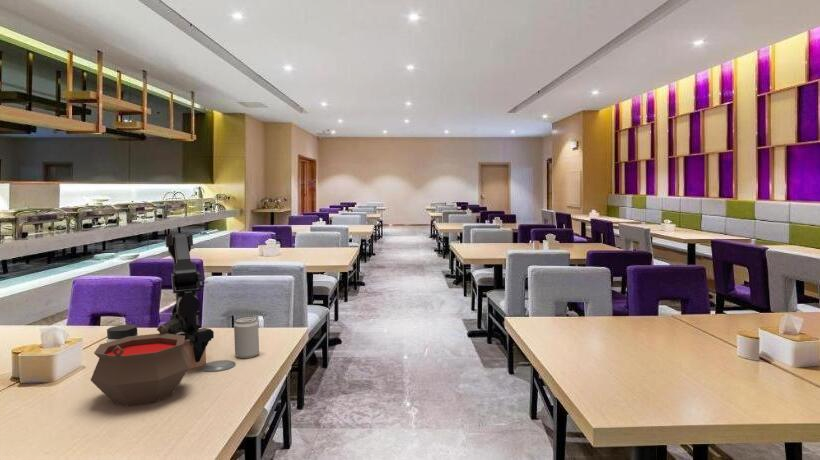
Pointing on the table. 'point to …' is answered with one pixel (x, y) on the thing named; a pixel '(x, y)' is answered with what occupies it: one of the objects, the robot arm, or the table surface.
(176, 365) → the brown cauldron
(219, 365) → the coaster
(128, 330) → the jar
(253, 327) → the can
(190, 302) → the robot arm
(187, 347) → the peach beveled cube
